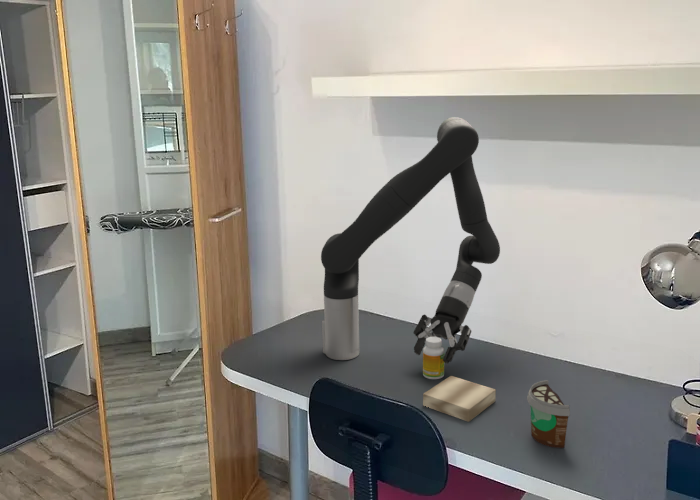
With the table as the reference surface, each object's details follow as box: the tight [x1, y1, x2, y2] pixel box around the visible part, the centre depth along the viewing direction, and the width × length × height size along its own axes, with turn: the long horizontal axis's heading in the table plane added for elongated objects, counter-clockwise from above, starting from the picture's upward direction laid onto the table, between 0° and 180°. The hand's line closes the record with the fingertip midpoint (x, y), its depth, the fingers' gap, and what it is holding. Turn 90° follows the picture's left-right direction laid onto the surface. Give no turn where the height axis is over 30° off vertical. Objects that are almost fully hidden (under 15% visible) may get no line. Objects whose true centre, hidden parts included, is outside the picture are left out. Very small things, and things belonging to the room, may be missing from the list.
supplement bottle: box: [422, 336, 446, 380], centre depth 168 cm, size 5×5×10 cm
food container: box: [526, 379, 571, 449], centre depth 139 cm, size 12×6×10 cm, turn 5°
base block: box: [422, 375, 497, 423], centre depth 154 cm, size 12×12×3 cm
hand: (430, 357), depth 167 cm, fingers open, 8 cm apart
